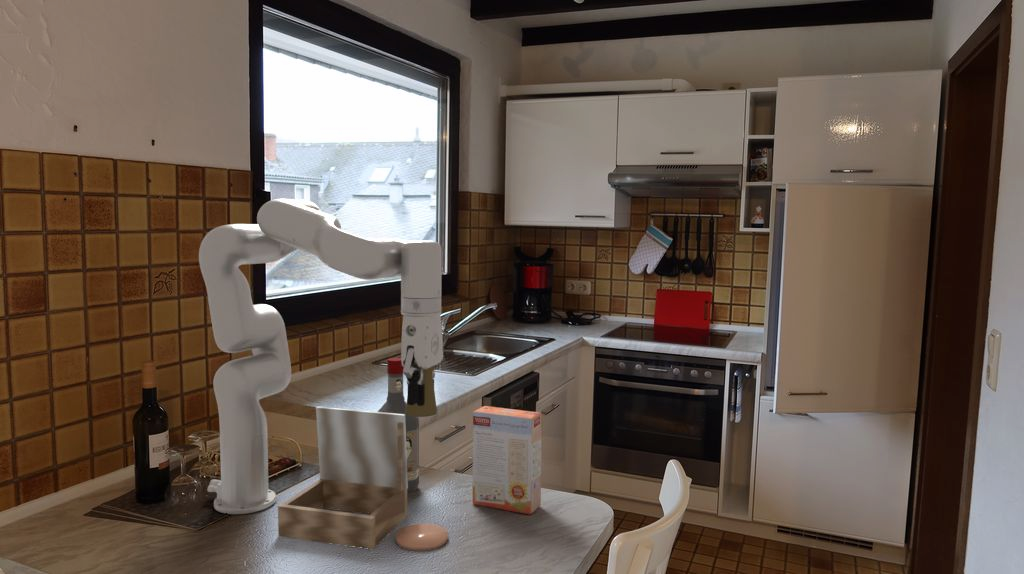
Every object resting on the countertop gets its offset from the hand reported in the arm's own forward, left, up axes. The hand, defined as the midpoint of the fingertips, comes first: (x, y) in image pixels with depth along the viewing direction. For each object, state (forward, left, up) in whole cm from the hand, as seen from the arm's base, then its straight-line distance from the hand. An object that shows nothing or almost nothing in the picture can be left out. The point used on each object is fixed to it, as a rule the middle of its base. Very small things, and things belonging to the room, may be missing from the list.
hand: (421, 401), depth 138 cm
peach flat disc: (0, 0, -27) cm, 27 cm away
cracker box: (+11, +21, -27) cm, 36 cm away
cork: (0, 0, -2) cm, 2 cm away
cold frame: (-17, +1, -27) cm, 32 cm away
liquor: (-16, +23, -27) cm, 39 cm away
